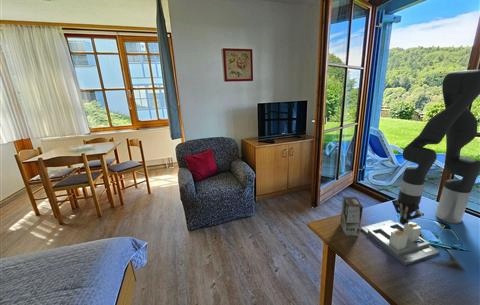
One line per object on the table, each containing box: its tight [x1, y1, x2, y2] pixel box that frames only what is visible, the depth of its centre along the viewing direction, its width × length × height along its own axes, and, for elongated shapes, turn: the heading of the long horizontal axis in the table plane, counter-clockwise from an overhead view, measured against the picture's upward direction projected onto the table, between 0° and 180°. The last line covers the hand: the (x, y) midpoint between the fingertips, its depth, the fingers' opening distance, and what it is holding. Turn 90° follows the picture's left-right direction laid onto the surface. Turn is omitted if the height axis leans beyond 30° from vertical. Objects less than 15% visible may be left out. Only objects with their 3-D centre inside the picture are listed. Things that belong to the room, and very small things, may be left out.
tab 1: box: [389, 230, 408, 250], centre depth 85 cm, size 4×4×8 cm
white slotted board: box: [360, 219, 441, 266], centre depth 91 cm, size 18×22×3 cm
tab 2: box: [403, 221, 422, 242], centre depth 89 cm, size 4×4×8 cm
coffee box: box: [339, 196, 364, 237], centre depth 98 cm, size 9×6×16 cm
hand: (403, 223), depth 93 cm, fingers closed
